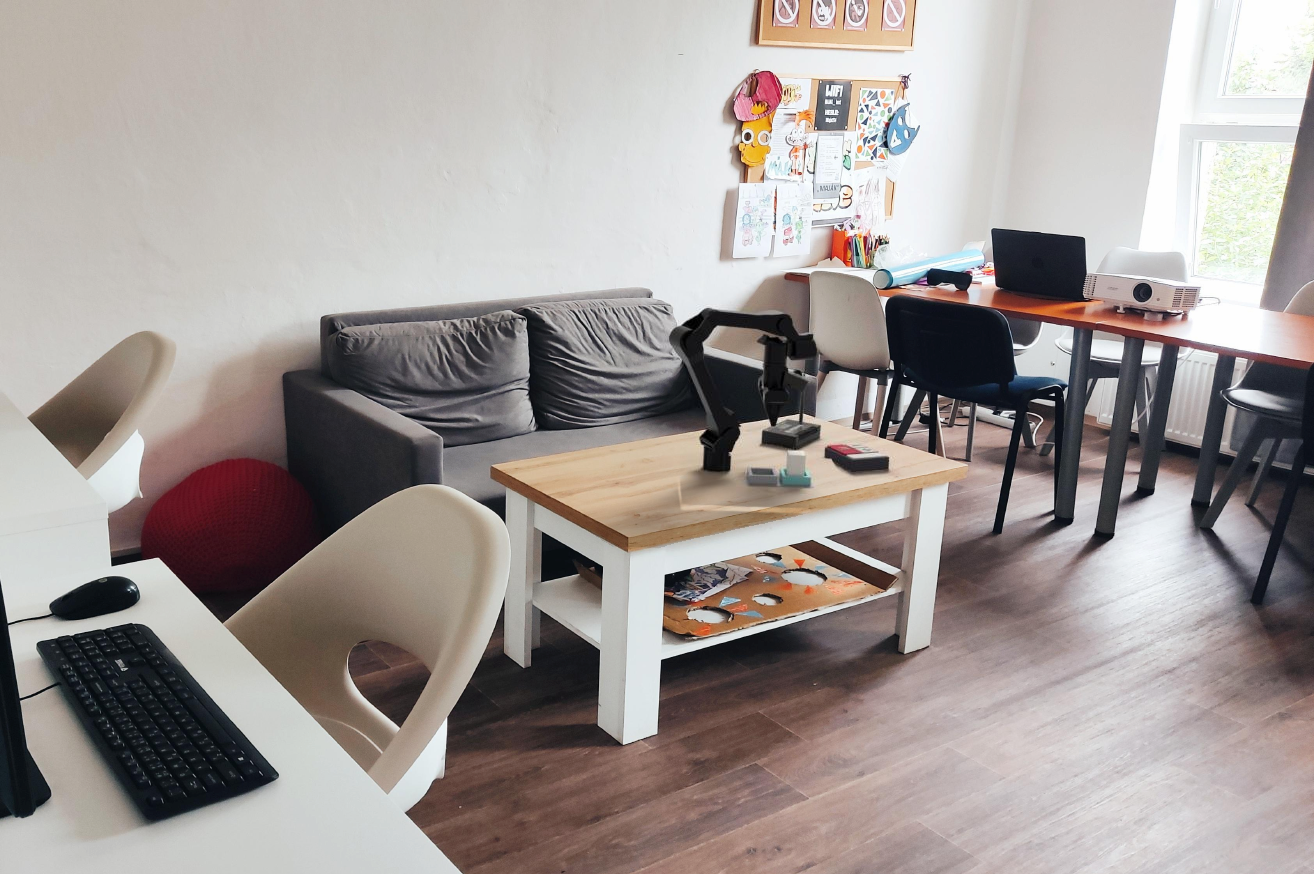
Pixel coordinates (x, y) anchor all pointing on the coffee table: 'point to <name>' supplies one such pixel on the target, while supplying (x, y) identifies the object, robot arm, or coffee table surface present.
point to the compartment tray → (776, 478)
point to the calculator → (857, 457)
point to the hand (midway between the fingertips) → (771, 421)
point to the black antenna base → (792, 432)
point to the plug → (795, 463)
